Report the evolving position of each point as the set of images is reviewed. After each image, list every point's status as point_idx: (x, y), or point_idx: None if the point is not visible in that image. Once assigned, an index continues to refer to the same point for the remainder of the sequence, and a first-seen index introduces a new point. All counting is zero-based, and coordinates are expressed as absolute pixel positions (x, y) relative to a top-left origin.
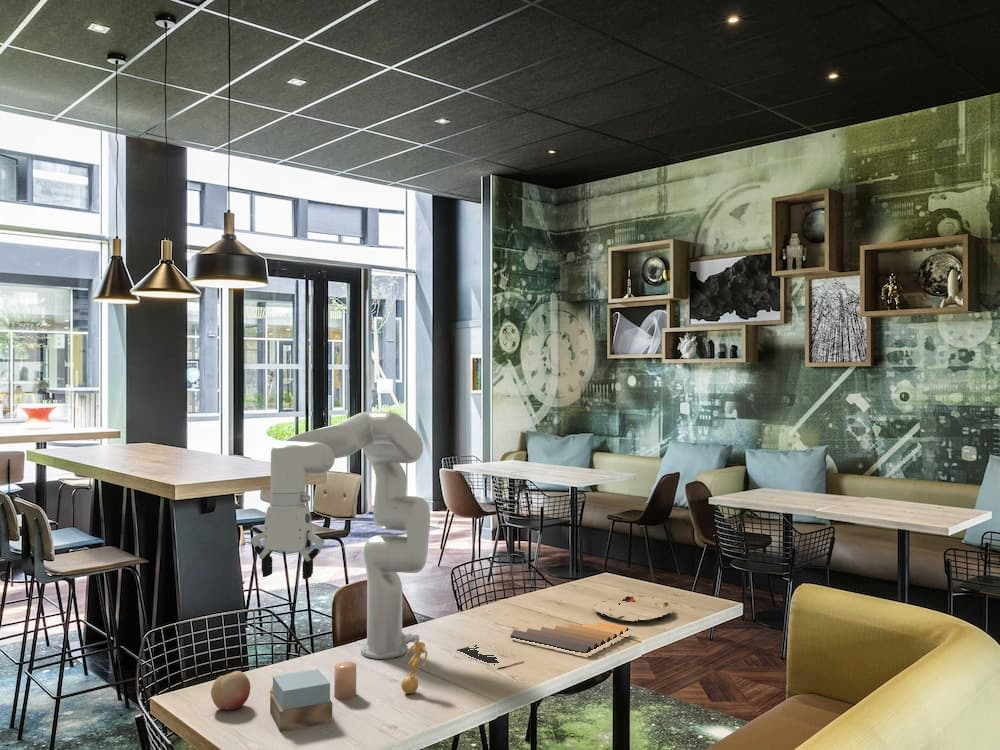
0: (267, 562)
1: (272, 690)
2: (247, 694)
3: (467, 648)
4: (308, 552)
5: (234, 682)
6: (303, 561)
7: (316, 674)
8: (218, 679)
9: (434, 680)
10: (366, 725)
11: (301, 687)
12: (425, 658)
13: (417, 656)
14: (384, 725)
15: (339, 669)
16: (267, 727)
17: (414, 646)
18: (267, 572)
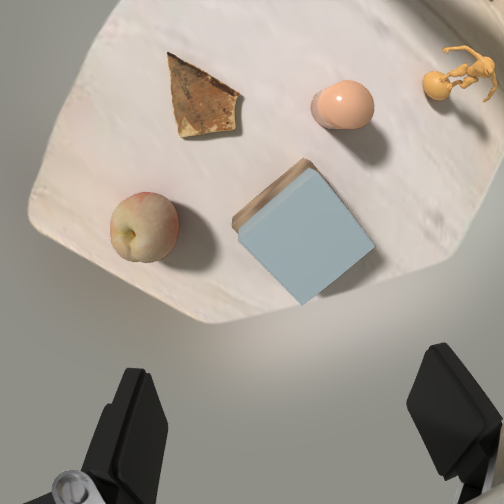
0: (149, 485)
1: (184, 136)
2: (178, 221)
3: None
4: (500, 477)
5: (159, 254)
6: (446, 479)
7: (329, 206)
8: (123, 256)
9: (440, 31)
10: (405, 223)
11: (329, 280)
12: (491, 95)
13: (475, 76)
14: (427, 217)
15: (347, 128)
16: (260, 268)
17: (473, 55)
18: (159, 429)
